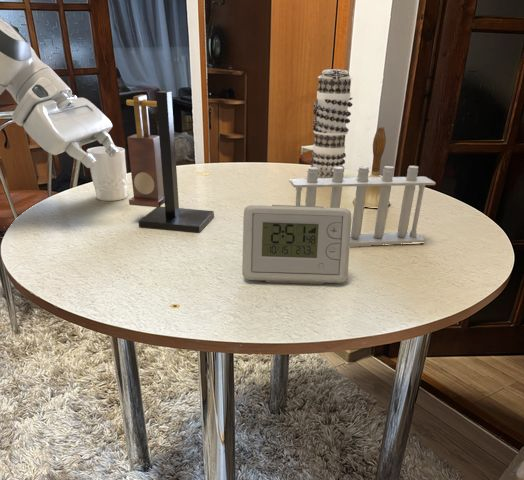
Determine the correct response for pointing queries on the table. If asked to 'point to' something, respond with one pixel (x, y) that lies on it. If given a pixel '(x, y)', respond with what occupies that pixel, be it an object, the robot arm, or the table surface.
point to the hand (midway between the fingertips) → (104, 159)
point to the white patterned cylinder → (331, 121)
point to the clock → (145, 160)
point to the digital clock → (296, 244)
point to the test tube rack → (362, 183)
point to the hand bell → (375, 169)
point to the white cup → (109, 174)
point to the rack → (170, 177)
